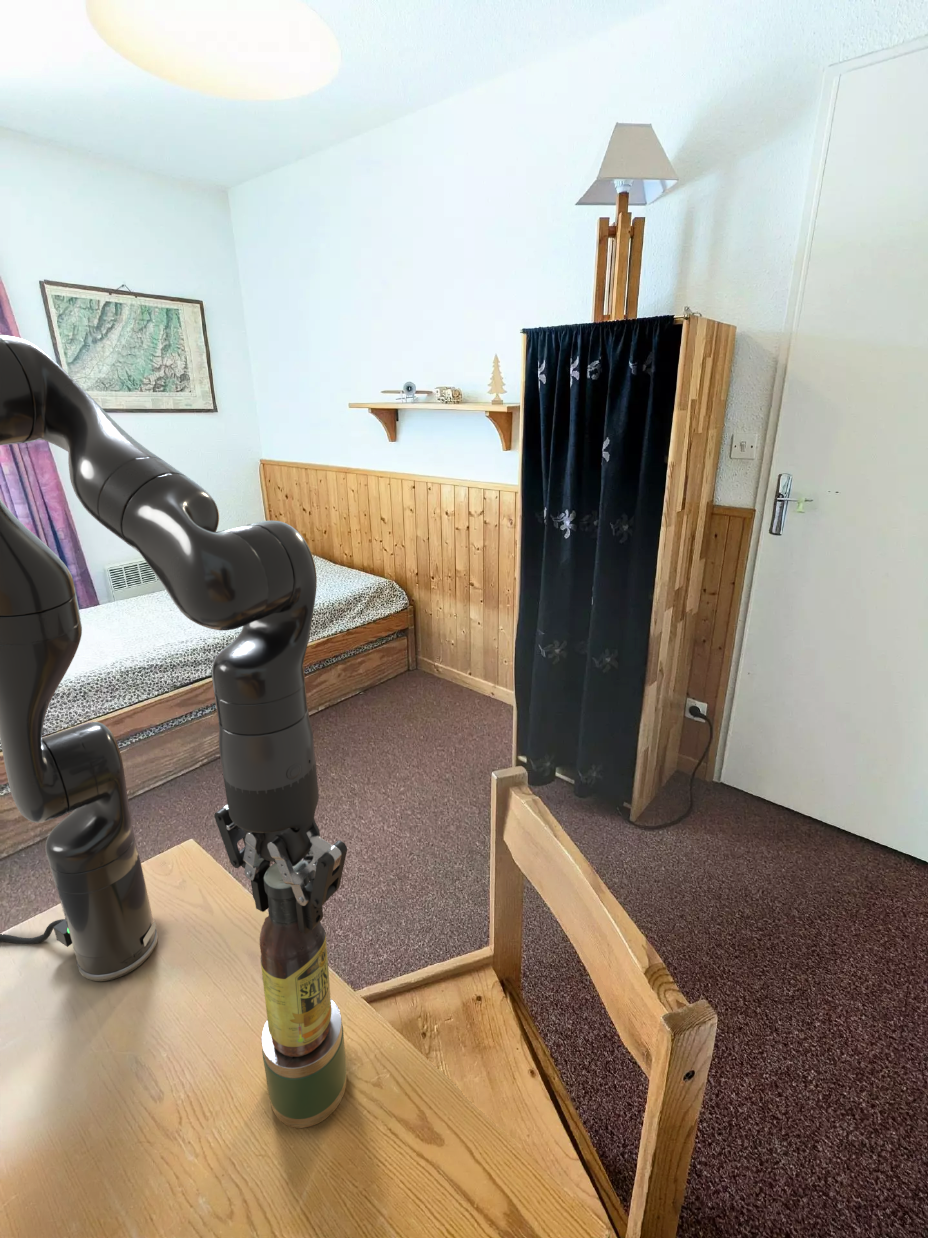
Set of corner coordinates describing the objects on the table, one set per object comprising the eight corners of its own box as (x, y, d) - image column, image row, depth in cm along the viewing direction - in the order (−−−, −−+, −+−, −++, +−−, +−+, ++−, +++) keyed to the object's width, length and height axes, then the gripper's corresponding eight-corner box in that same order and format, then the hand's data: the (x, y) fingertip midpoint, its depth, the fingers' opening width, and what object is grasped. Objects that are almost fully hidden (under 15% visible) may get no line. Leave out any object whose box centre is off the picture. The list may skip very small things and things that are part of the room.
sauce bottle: (317, 1067, 59) (299, 909, 52) (258, 1054, 60) (233, 898, 53) (343, 1005, 65) (330, 856, 58) (289, 994, 66) (270, 846, 59)
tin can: (253, 1103, 64) (242, 1044, 61) (306, 1035, 71) (299, 979, 68) (312, 1145, 60) (305, 1085, 57) (362, 1070, 67) (358, 1012, 64)
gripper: (364, 761, 51) (373, 916, 57) (242, 720, 58) (262, 863, 63) (303, 812, 45) (320, 979, 51) (174, 759, 51) (203, 914, 57)
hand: (288, 914), depth 57 cm, fingers open, 4 cm apart
